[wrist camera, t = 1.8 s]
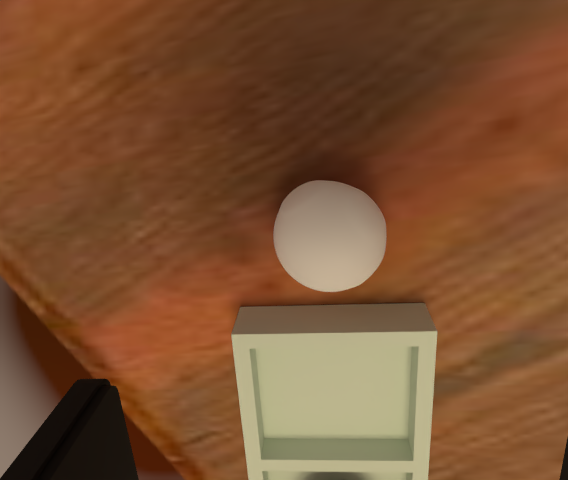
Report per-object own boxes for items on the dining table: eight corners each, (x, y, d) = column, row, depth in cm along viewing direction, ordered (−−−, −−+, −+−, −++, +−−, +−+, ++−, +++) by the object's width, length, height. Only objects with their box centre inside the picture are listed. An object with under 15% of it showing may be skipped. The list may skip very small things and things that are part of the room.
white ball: (399, 222, 22) (421, 264, 17) (323, 281, 23) (324, 334, 19) (333, 145, 21) (337, 168, 16) (257, 212, 22) (241, 250, 18)
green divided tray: (240, 306, 24) (231, 334, 22) (424, 302, 23) (437, 331, 21) (264, 526, 30) (259, 568, 28) (412, 529, 29) (422, 573, 27)
